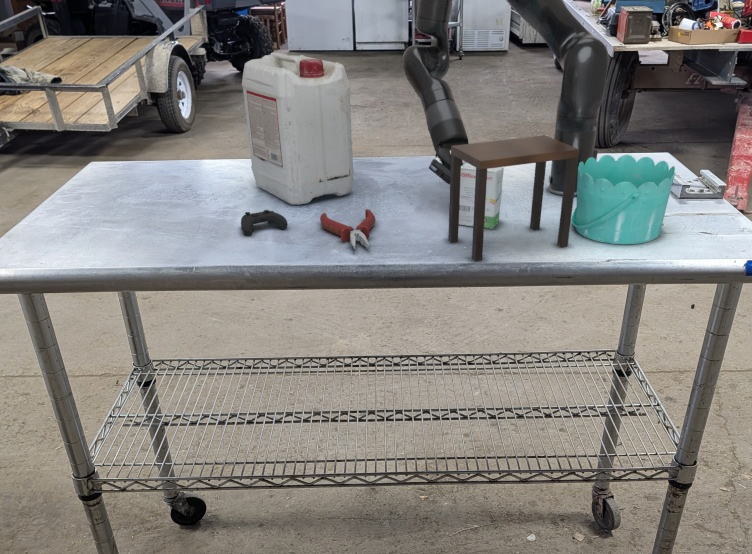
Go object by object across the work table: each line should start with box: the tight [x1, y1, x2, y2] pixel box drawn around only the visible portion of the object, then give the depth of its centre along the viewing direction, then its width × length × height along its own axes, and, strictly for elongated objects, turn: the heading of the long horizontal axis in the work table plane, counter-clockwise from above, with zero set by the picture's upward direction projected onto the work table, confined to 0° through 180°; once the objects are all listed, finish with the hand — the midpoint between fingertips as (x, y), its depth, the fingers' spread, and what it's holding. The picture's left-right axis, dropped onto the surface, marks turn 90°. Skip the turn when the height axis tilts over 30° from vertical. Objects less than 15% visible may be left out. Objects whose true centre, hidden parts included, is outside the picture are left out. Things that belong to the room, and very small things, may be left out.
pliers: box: [319, 208, 376, 251], centre depth 145 cm, size 12×20×3 cm, turn 12°
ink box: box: [459, 163, 505, 230], centre depth 148 cm, size 9×5×12 cm, turn 65°
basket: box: [571, 154, 676, 246], centre depth 143 cm, size 19×18×13 cm
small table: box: [447, 135, 579, 262], centre depth 136 cm, size 20×12×18 cm, turn 110°
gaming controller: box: [240, 209, 288, 236], centre depth 151 cm, size 10×5×6 cm
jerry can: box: [241, 52, 355, 206], centre depth 166 cm, size 24×19×30 cm
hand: (468, 198), depth 153 cm, fingers closed
